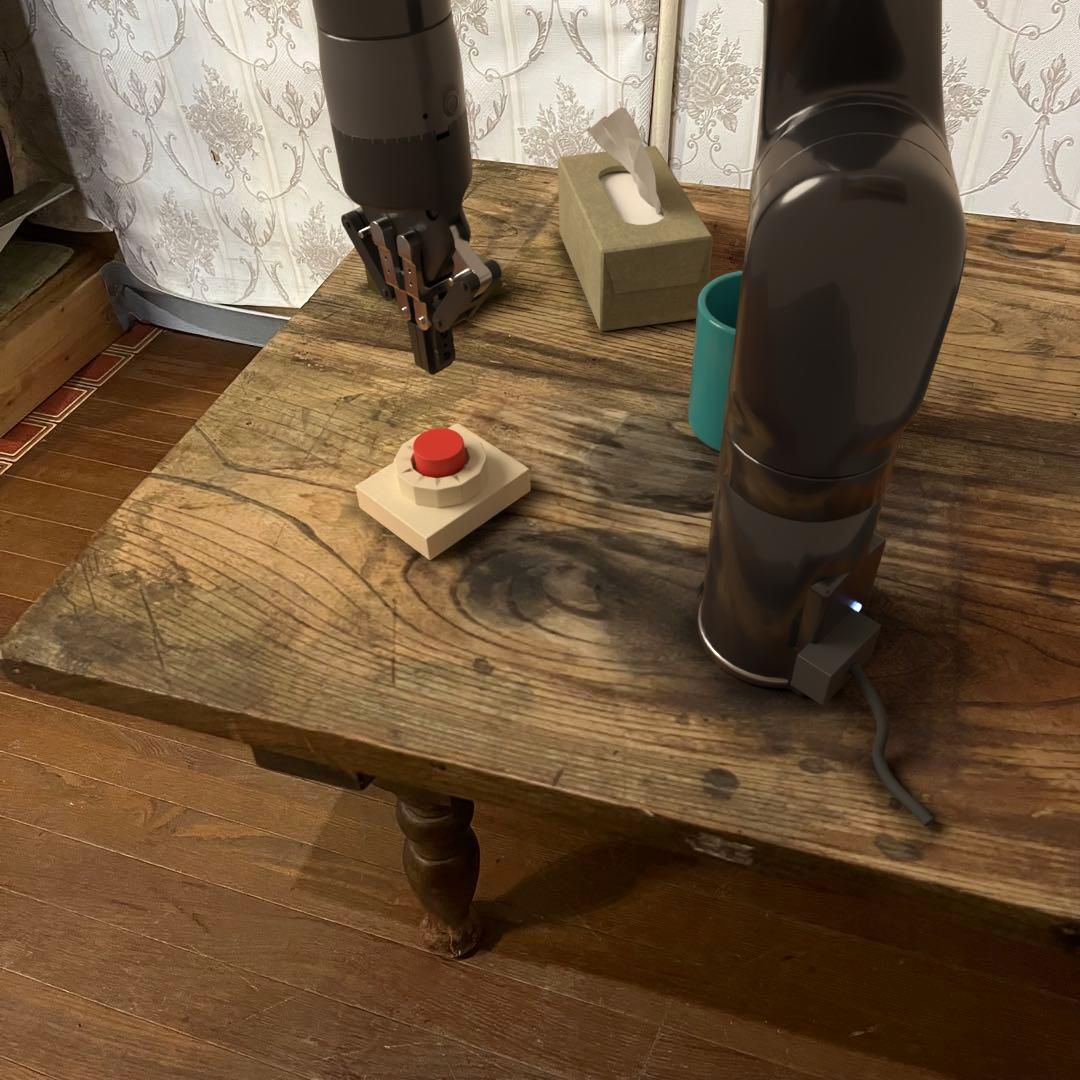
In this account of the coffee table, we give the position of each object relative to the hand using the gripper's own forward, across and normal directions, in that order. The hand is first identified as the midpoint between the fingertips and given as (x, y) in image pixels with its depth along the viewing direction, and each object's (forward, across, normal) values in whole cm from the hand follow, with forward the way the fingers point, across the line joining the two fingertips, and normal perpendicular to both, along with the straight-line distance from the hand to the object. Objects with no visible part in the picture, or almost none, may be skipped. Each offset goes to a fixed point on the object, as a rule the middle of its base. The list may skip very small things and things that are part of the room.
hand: (435, 365), depth 69 cm
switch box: (+12, 0, -1) cm, 12 cm away
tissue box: (+12, -12, +32) cm, 36 cm away
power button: (+8, 0, -1) cm, 8 cm away
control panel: (+12, -23, +18) cm, 31 cm away
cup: (+12, +11, +20) cm, 27 cm away
